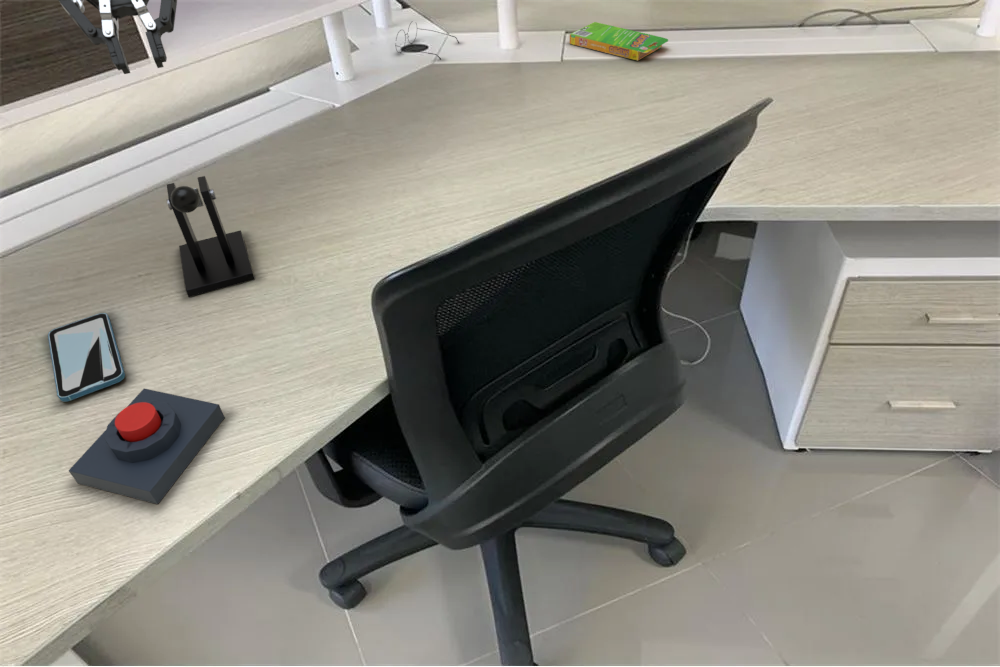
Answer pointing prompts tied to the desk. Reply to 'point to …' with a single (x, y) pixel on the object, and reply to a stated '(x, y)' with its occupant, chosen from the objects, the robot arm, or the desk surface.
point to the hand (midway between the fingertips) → (142, 67)
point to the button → (138, 422)
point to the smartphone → (85, 357)
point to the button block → (149, 449)
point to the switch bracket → (211, 250)
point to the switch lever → (186, 199)
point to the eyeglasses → (415, 38)
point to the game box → (616, 40)
